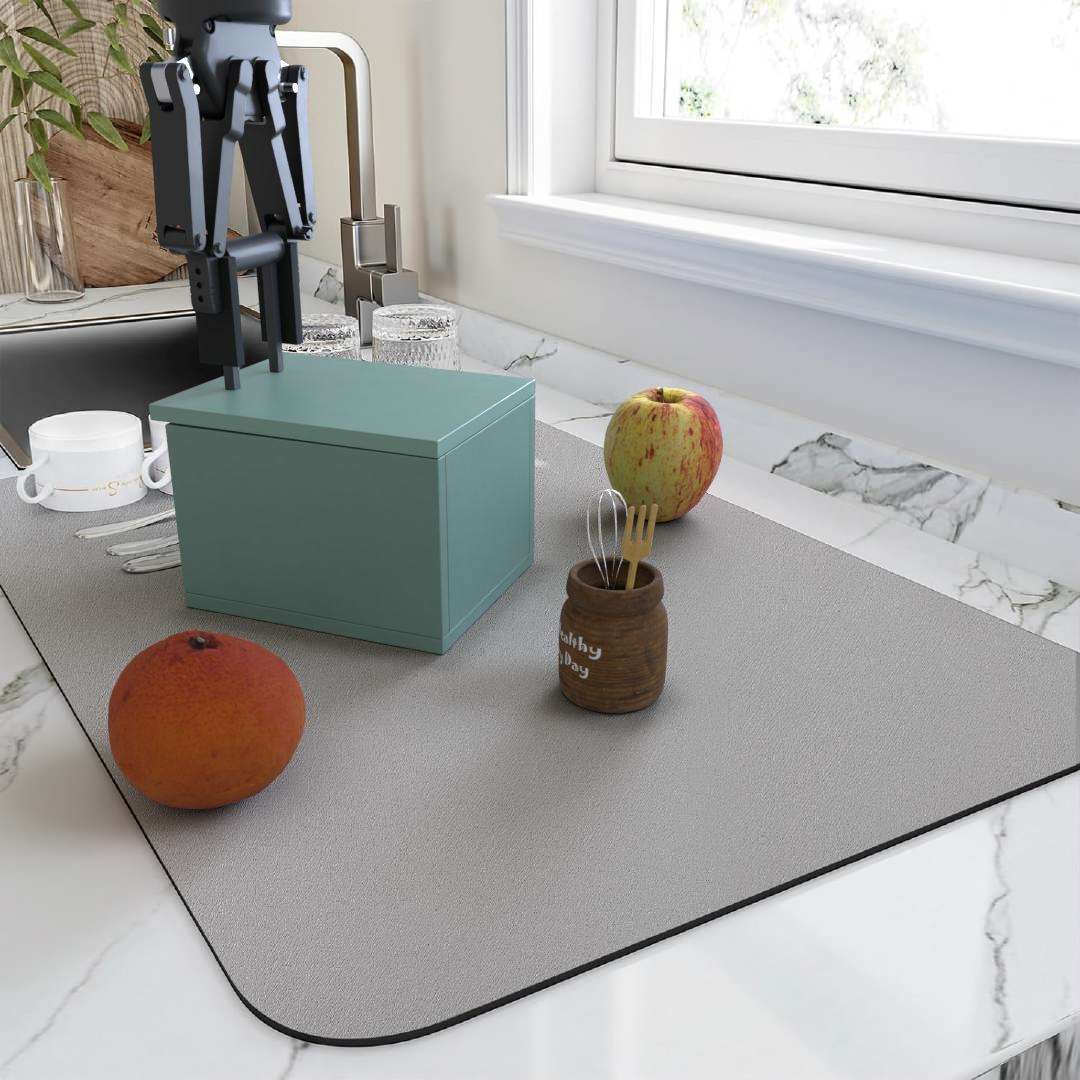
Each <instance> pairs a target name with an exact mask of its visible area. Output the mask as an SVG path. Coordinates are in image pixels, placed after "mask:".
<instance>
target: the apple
mask: <svg viewBox="0 0 1080 1080" xmlns="http://www.w3.org/2000/svg"><path fill="white" fill-rule="evenodd" d="M722 433H723V432H722V427H721V424H720V419H719V417H718V415H717V413H716V411H715V409H714V407H713V406H712V404H711V403H710V402H709V401H708V400H707V399H706V398H704V397H703V396H702V395H699V394H697V393H695V392H693V391H689V390H686V389H682V388H676V387H675V388H674V387H659V386H657V387H650V388H647V389H645V390H642V391H639V392H637V393H635V394H633V395H631V396H630V397H628V398H627V399H625V400H623V401H622V402H621V404H620V405H619V406H618V407H617V408H616V410H615V412H614V413H613V415H612V416H611V418H610V420H609V421H608V425H607V426H606V430H605V433H604V441H603V460H604V461H603V462H604V467H605V470H606V471H605V472H606V475H607V477H608V481H609V483H610V486H611V488H612V490H614V492H615V491H617V492H618V493H620V494H621V495H622V497H623V498H624V500H625V502H626V506H627V510H628V509H629V507H630V506H633V507H634V508H635V511H634V516H637V517H638V516H639V511H640V507H641V506H642V505H645V506H646V513H645V520H646V521H649V517H650V512H651V507H652V505H653V504H657V506H658V508H657V514H656V521H655V523H665V522H669V521H672V520H676V519H678V518H681V517H683V516H684V515H686V514H687V513H688V512H690V511H691V510H692V509H694V507H696V506H697V504H698V503H699V502H701V500H702V499H703V497H704V496H705V494H706V493H707V491H708V490H709V489H710V487H711V485H712V483H713V482H714V480H715V478H716V475H717V473H718V471H719V468H720V465H721V463H722V462H721V461H722V458H723V450H724V439H723V434H722ZM614 492H613V493H614ZM617 492H616V493H617ZM616 493H614V495H615V497H616V498H617V500H618V501H619V502H620V504H621V505H623V507H625V505H624V502H623V501H624V500H622V499H623V498H622V499H621V498H620V496H621V495H620V494H619V495H620V496H619V495H617V494H618V493H617V494H616Z"/></svg>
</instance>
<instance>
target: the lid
mask: <svg viewBox="0 0 1080 1080" xmlns="http://www.w3.org/2000/svg"><path fill="white" fill-rule="evenodd" d="M284 254H285V245H284V242H283V240H282V238H281V237H280V236H279V235H278V234H277V233H275V232H272V231H267V232H257V233H252V234H248V235H243V236H239V237H234V238H229V239H226V248H225V253H224V255H223V256H235V257H236V268H237V274H238V273H242V272H246V271H249V270H253V269H256V268H258V267H262V275H263V289H264V302H265V315H266V328H267V342H266V343H267V355H268V358H267V359H265V360H262V361H258V362H256V363H254V364H251V365H249V366H246V367H243V368H240V367H231V366H222V369H223V376H220V377H217V378H215V379H214V378H213V379H212V380H209V381H206V382H203V383H201V384H198V385H196V386H193V387H191V388H188V389H185V390H183V391H180V392H177V393H175V394H172V395H169V396H167V397H164V398H161V399H159V400H156V401H154V402H151V403H149V404H148V410H149V418H150V419H149V420H150V421H156V422H163V423H177V424H184V425H192V426H199V427H207V428H214V429H222V430H229V431H237V432H244V433H251V434H259V435H266V436H274V437H281V438H289V439H296V440H304V441H311V442H319V443H326V444H333V445H341V446H348V447H356V448H363V449H371V450H378V451H386V452H393V453H401V454H408V455H415V456H423V457H430V458H439V457H441V456H442V455H444V454H445V453H447V452H448V451H450V450H451V449H453V448H454V447H456V446H457V445H459V444H460V443H462V442H463V441H465V440H466V439H468V438H469V437H471V436H472V435H474V434H475V433H477V432H478V431H480V430H481V429H483V428H484V427H486V426H487V425H489V424H490V423H492V422H493V421H495V420H496V419H498V418H499V417H501V416H502V415H504V414H505V413H507V412H508V411H510V410H511V409H513V408H514V407H516V406H517V405H519V404H520V403H522V402H523V401H525V400H526V399H528V398H529V397H531V396H532V395H536V384H537V383H536V378H531V377H530V378H529V377H520V376H510V375H502V374H501V375H500V374H491V373H482V372H472V371H463V370H454V369H453V370H452V369H445V368H444V369H443V368H434V367H425V366H416V365H408V364H397V363H387V362H378V361H371V360H370V361H369V360H361V359H360V360H359V359H351V358H341V357H333V356H332V357H331V356H323V355H322V356H321V355H314V354H303V353H295V352H287V351H286V352H283V343H282V337H281V323H280V309H279V294H278V280H277V266H276V263H277V262H279V261H280V260H281V259H282V258H283V256H284Z"/></svg>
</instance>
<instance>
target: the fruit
mask: <svg viewBox="0 0 1080 1080" xmlns="http://www.w3.org/2000/svg"><path fill="white" fill-rule="evenodd" d="M300 685H301V684H300V683H299V680H298V679H297V677H296V675H295V674H294V672H293V670H292V669H291V668H290V666H289V665H288V664H287V663H286V662H285V661H284V660H283V659H282V658H281V657H280V656H278V655H277V654H275V653H273V652H272V651H270V650H269V649H268V648H266V647H264V646H263V645H261V644H259V643H256V642H254V641H251V640H249V639H245V638H242V637H239V636H235V635H231V634H228V633H221V632H220V633H218V632H217V633H216V632H211V631H208V630H207V631H206V630H199V629H190V630H185V631H181V632H177V633H174V634H173V633H172V634H171V635H168V636H167V637H165V639H161V640H159V641H157V642H155V643H152V644H151V645H149V646H148V647H146V648H145V649H143V650H142V651H139V653H137V654H136V655H135V656H134V657H133V658H132V659H131V660H130V661H129V662H128V663H127V665H125V666H124V668H123V669H122V671H121V672H120V675H119V676H118V678H117V680H116V682H115V684H114V686H113V688H112V690H111V694H110V697H109V699H108V711H107V712H108V713H107V732H108V741H109V747H110V752H111V755H112V757H113V761H114V763H115V765H116V766H117V768H118V769H119V771H120V773H121V774H122V776H123V777H124V779H125V780H127V782H129V784H130V785H132V787H133V788H135V789H136V791H138V792H139V793H141V794H142V795H144V796H145V797H146V798H148V799H150V800H152V801H154V802H156V803H159V804H162V805H163V806H166V807H169V808H177V809H185V810H201V809H202V810H204V809H206V810H209V809H216V808H220V807H224V806H227V805H232V804H235V803H238V802H241V801H244V800H246V799H249V798H252V797H253V796H256V795H258V794H259V793H262V792H263V791H264V790H266V788H268V786H269V785H270V784H272V783H273V782H274V781H275V780H276V779H277V778H278V777H279V776H280V775H281V774H282V773H283V772H284V770H285V769H286V768H287V766H288V765H289V764H290V762H291V760H292V759H293V757H294V755H295V752H296V751H297V749H298V745H299V744H300V743H301V740H302V736H303V734H304V730H305V726H306V725H305V724H306V709H307V708H306V700H305V696H304V693H303V690H302V687H301V686H300Z"/></svg>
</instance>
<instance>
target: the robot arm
mask: <svg viewBox="0 0 1080 1080" xmlns="http://www.w3.org/2000/svg"><path fill="white" fill-rule="evenodd" d="M155 1H156V10H157V14H158V16H159V17H160V19H161V20H163V21H164V22H167V23H171V24H174V27H175V33H174V34H175V35H174V43H173V47H172V57H170V58H168V59H166V60H164V61H162V62H161V61H156V62H155V61H153V62H151V61H150V62H149V61H148V62H146V61H145V62H142V63H141V64H140V66H139V69H138V70H139V72H138V74H139V79H140V83H141V86H142V90H143V94H144V97H145V100H146V104H147V107H148V115H149V129H150V130H149V131H150V132H149V133H150V142H151V143H150V147H151V162H152V172H153V173H152V176H153V189H154V206H155V220H156V234H157V235H156V236H157V241H158V245H159V246H160V247H161V248H162V249H168V252H169V253H170V254H171V255H174V256H184V258H185V260H186V263H187V274H188V282H189V292H190V303H191V307H192V309H193V313H195V325H196V333H197V335H196V336H197V345H198V354H199V363H200V364H205V365H214V366H222V367H223V366H231V367H239V368H240V367H242V366H245V364H246V363H245V352H244V339H243V329H242V327H243V326H242V316H241V304H240V294H239V293H240V291H239V281H238V273H237V268H236V257H235V256H223V255H224V253H225V248H226V240H227V235H228V225H229V224H228V223H229V215H230V202H231V195H232V193H231V191H232V182H233V173H234V172H233V171H234V170H233V169H234V160H235V148H236V143H238V147H239V151H240V154H241V159H242V162H243V166H244V170H245V173H246V178H247V181H248V184H249V186H248V187H249V189H250V194H251V196H252V201H253V204H254V208H255V211H256V216H257V220H258V223H259V228H260V231H261V232H260V233H262V232H267V231H272V232H275V233H277V234H278V235H279V236H280V237H281V238H282V240H283V242H284V245H285V254H284V256H283V258H282V259H281V260H280V261H279V262H277V263H276V266H277V280H278V294H279V309H280V323H281V337H282V345H283V344H285V345H294V346H298V345H301V344H303V343H304V335H303V318H302V305H301V304H302V303H301V288H300V287H301V286H300V281H301V277H300V266H299V264H300V262H299V247H298V241H304V242H305V241H307V242H309V241H311V240H312V238H313V236H314V226H316V224H317V220H318V217H317V216H318V214H317V204H316V203H317V202H316V192H315V191H316V190H315V181H314V172H313V159H312V150H311V149H312V148H311V139H310V130H309V117H308V116H309V115H308V108H307V102H308V90H309V80H310V74H309V70H308V68H307V66H306V65H305V64H289V63H287V62H286V61H283V60H282V55H281V52H280V48H279V45H278V42H277V37H276V31H275V30H276V28H277V26H283V25H286V24H288V23H289V22H290V21H291V20H292V19H293V18H292V17H293V5H292V0H155ZM203 119H204V120H203ZM255 272H256V284H257V296H258V297H257V298H258V308H259V309H258V311H259V323H260V334H261V342H264V343H265V342H266V343H268V342H267V328H266V315H265V302H264V289H263V275H262V267H258V268H255Z"/></svg>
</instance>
